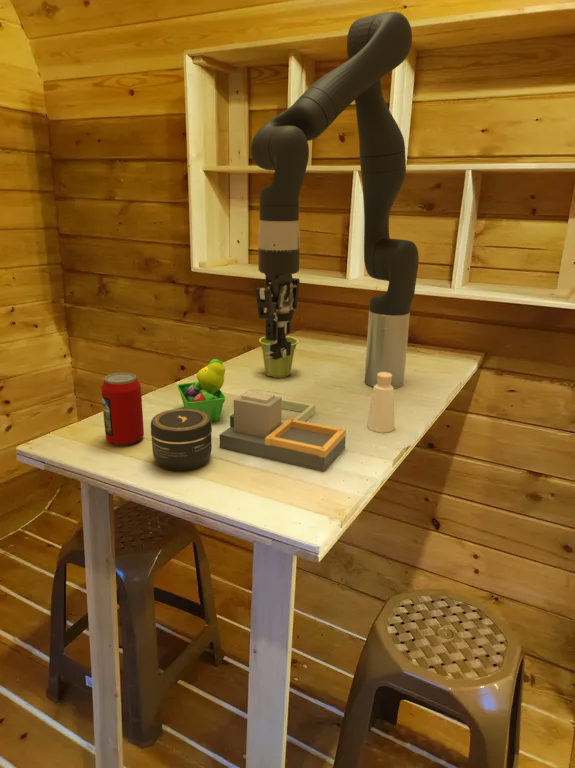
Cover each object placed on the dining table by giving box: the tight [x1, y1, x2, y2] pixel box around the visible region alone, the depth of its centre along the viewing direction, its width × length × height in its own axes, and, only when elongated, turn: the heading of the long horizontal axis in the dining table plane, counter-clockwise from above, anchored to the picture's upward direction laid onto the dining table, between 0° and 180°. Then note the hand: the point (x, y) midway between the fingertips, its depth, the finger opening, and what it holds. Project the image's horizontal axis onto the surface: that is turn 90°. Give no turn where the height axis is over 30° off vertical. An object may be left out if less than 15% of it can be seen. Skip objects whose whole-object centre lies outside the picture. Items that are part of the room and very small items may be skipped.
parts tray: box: [281, 398, 316, 423], centre depth 117 cm, size 12×12×2 cm
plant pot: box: [258, 335, 299, 379], centre depth 142 cm, size 9×9×9 cm
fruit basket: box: [176, 358, 226, 423], centre depth 117 cm, size 11×9×11 cm
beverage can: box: [100, 372, 145, 446], centre depth 105 cm, size 7×7×12 cm
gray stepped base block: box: [219, 390, 347, 472], centre depth 103 cm, size 10×20×9 cm, turn 65°
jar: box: [150, 408, 213, 473], centre depth 98 cm, size 10×10×8 cm
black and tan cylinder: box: [265, 304, 295, 360], centre depth 111 cm, size 7×5×10 cm
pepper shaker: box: [366, 372, 396, 434], centre depth 112 cm, size 5×5×11 cm
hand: (278, 336), depth 112 cm, fingers closed on black and tan cylinder, 5 cm apart
